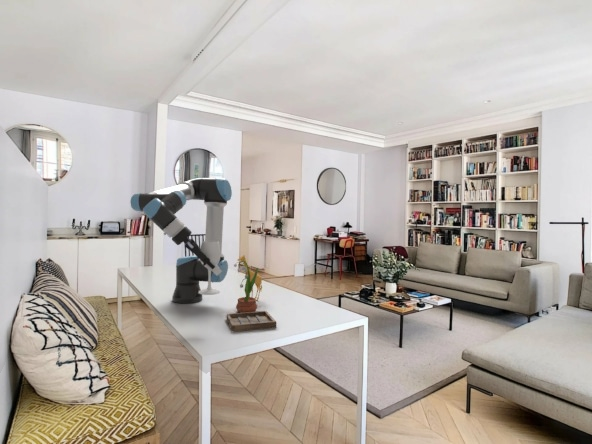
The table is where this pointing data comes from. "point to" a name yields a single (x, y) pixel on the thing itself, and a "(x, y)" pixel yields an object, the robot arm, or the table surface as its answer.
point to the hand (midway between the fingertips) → (218, 271)
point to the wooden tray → (250, 321)
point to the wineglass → (213, 254)
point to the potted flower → (246, 291)
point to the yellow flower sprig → (257, 281)
